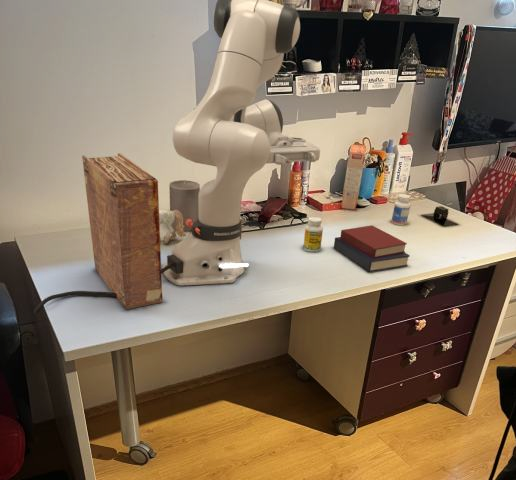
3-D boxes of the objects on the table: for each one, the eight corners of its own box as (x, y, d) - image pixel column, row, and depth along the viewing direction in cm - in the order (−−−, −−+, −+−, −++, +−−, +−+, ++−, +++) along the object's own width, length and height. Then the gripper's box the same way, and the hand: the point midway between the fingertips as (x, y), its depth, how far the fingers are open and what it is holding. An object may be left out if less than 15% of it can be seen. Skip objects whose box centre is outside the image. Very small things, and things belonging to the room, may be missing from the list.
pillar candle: (173, 220, 180) (171, 175, 172) (201, 222, 180) (201, 177, 172) (167, 230, 172) (166, 183, 164) (198, 232, 172) (197, 185, 164)
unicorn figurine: (118, 241, 162) (114, 198, 154) (179, 234, 169) (178, 192, 162) (124, 250, 156) (120, 205, 149) (187, 242, 164) (186, 199, 157)
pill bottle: (388, 220, 192) (393, 193, 187) (401, 219, 194) (407, 193, 189) (396, 225, 188) (401, 198, 183) (409, 225, 190) (415, 197, 184)
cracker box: (356, 210, 200) (365, 153, 189) (340, 209, 201) (348, 151, 189) (358, 200, 211) (366, 145, 200) (342, 198, 212) (350, 143, 201)
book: (95, 269, 144) (81, 154, 128) (128, 263, 149) (119, 152, 132) (126, 310, 126) (115, 183, 110) (163, 302, 131) (157, 179, 114)
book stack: (368, 272, 153) (372, 251, 149) (333, 248, 167) (336, 228, 164) (407, 266, 158) (412, 245, 155) (370, 243, 172) (373, 223, 169)
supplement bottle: (316, 245, 168) (320, 215, 163) (322, 251, 164) (326, 221, 159) (300, 246, 167) (303, 216, 162) (306, 252, 163) (309, 222, 157)
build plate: (458, 225, 193) (461, 212, 190) (443, 227, 190) (446, 214, 187) (435, 213, 202) (438, 201, 200) (420, 215, 199) (422, 203, 197)
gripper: (251, 140, 166) (270, 150, 156) (307, 138, 174) (330, 148, 164) (250, 161, 170) (269, 172, 159) (305, 158, 178) (327, 168, 167)
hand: (300, 160), depth 162 cm, fingers open, 8 cm apart
